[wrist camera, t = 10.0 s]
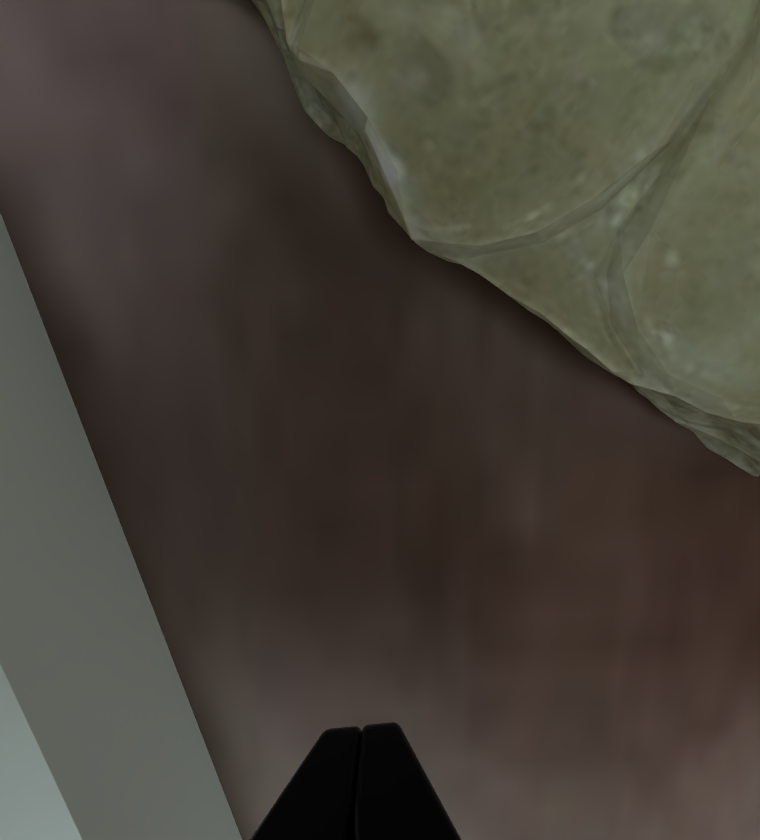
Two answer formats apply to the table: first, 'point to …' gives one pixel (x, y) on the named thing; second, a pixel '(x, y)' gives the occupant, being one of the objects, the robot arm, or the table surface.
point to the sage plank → (80, 630)
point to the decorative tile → (570, 170)
